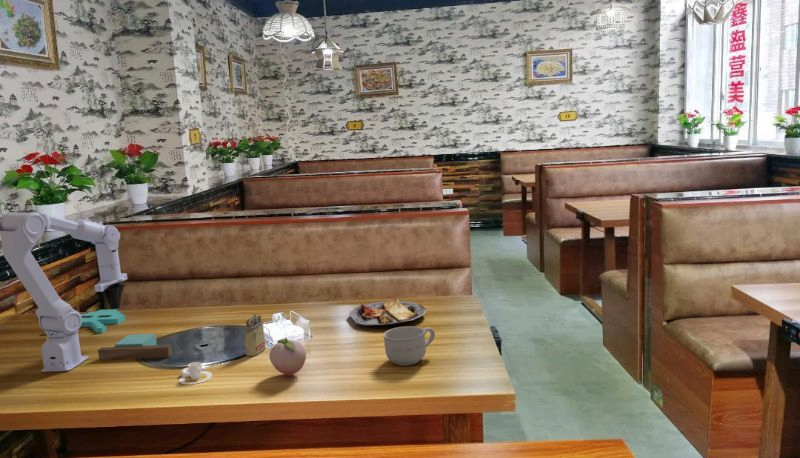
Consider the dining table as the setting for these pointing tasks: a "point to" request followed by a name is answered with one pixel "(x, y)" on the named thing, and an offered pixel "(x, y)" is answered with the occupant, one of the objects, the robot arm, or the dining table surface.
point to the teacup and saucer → (193, 373)
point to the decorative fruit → (288, 356)
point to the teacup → (407, 344)
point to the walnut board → (134, 352)
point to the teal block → (137, 340)
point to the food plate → (387, 312)
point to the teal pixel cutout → (101, 319)
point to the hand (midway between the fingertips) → (115, 308)
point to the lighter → (254, 336)
